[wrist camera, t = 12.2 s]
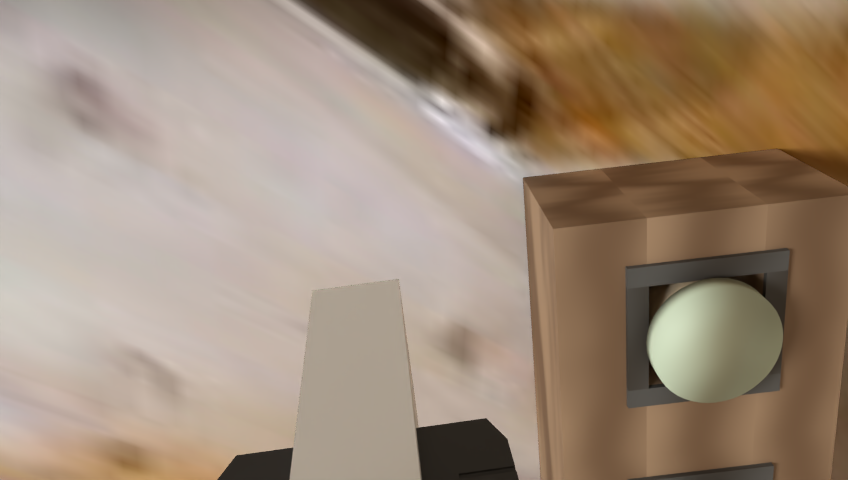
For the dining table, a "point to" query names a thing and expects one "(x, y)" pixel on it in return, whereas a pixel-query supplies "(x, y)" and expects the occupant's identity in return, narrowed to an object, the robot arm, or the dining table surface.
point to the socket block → (676, 263)
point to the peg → (712, 338)
